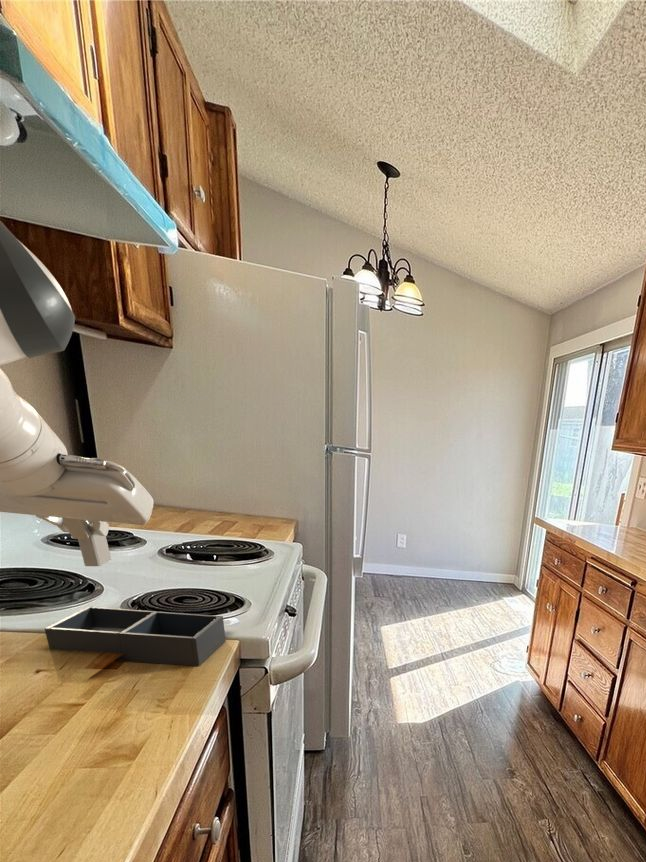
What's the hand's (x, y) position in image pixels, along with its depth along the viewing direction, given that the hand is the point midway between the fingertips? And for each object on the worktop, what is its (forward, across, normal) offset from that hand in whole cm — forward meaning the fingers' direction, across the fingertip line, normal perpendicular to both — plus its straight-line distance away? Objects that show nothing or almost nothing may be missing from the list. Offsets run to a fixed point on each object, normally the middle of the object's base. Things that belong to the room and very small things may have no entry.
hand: (87, 529), depth 71 cm
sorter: (+14, -3, +10) cm, 17 cm away
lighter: (+3, 0, +4) cm, 5 cm away
